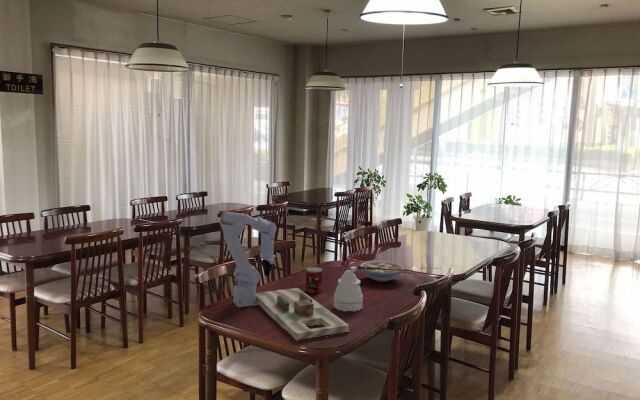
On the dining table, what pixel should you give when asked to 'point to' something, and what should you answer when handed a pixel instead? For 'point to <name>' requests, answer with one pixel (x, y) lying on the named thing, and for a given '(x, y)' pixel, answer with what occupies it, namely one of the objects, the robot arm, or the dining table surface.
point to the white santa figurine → (348, 292)
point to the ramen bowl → (381, 270)
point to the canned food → (314, 280)
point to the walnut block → (303, 307)
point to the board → (283, 313)
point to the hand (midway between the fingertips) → (267, 275)
